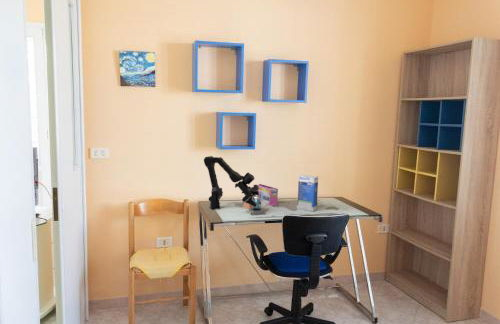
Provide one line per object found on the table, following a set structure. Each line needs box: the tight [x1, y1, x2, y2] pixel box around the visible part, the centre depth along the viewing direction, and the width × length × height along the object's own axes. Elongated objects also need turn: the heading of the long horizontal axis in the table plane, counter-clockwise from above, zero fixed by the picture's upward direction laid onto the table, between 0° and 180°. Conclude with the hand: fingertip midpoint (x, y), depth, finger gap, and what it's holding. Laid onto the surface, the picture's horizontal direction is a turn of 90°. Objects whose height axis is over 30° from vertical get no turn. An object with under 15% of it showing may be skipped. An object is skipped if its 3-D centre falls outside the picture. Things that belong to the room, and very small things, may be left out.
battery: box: [253, 195, 261, 211], centre depth 281 cm, size 4×4×13 cm
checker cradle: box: [246, 208, 267, 217], centre depth 282 cm, size 11×11×4 cm
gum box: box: [252, 183, 279, 207], centre depth 316 cm, size 24×8×14 cm, turn 36°
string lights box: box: [297, 174, 319, 212], centre depth 299 cm, size 13×8×26 cm, turn 56°
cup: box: [243, 201, 253, 210], centre depth 297 cm, size 8×8×5 cm
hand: (258, 205), depth 280 cm, fingers open, 9 cm apart
